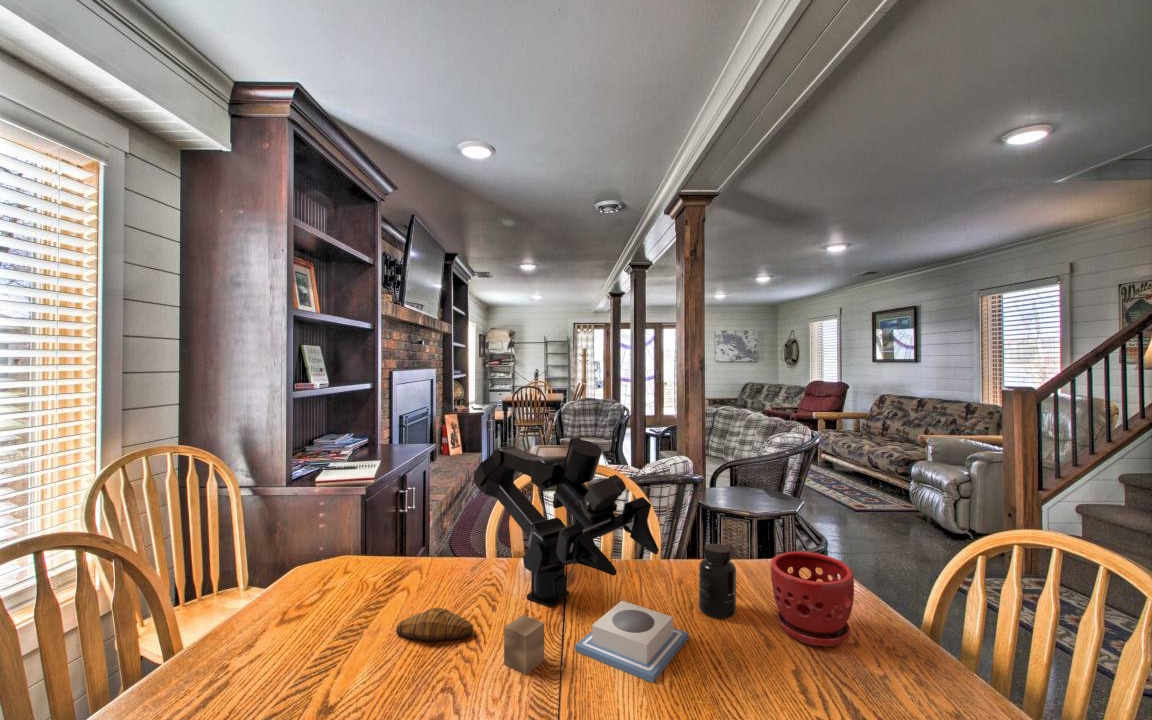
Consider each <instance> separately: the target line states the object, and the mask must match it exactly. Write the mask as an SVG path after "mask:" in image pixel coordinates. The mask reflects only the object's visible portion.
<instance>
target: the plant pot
mask: <svg viewBox="0 0 1152 720" xmlns="http://www.w3.org/2000/svg"><path fill="white" fill-rule="evenodd" d="M789 568H792V572H790V573H789ZM803 568H805V569H807V570H809V572H810V576H809V577H807V578H803V577H802V576H801V575H800V571H801V569H803ZM817 568H818V569H821V570H822V573H821V574H819V573H818V572H817V571H816V569H817ZM838 575H839V577H838ZM829 576H830V577H831V579H829ZM770 578H771V585H772V590H773V591H772V594H773V597H774V601H775V604H776V606H777V609H778V611H777V614H776V619H777V622H778V624H779V626H780V628H781V629H782V630H783V631H784V632H785V633H786V634H788V635H789V636H790V637H792V638H794V640H797V641H799V642H802V643H804V644H808V645H812V646H816V647H828V648H829V647H830V648H831V647H834V646H837V645H841V644H843V643H844V642H845V641H847V639H849V638H850V634H851V627H850V625H849V623H848V621H849V619H850V617H851V614H852V610H853V605H854V599H855V598H854V596H855V582H854V579H855V578H854V572H853V570H852V569H851V568H850V566H849V565H847V564H846V563H845V562H843V561H841V560H839V559H837V558H834V557H832V556H829V555H827V554H826V555H825V554H821V553H817V552H809V551H788V552H782V553H780V554H777V555H775V556H774V557H772V559H771V560H770ZM839 578H840V579H839ZM818 580H820V581H818Z"/></svg>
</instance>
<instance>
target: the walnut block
mask: <svg viewBox="0 0 1152 720" xmlns="http://www.w3.org/2000/svg"><path fill="white" fill-rule="evenodd" d="M544 661H545V622H543V621H540V620H537V619H534V618H532V617H529V616H527V615H524V614H522V615H520V616H519V617H517V618H515V620H512V621H511V622H510V623H508V624H506V625H505V626H503V665H504V666H506V667H508V668H510V669H512V670H514V671H515V672H517V673H520V674H522V675H525V676H527V675H528V674H530V672H532V671H533V670H534V669H536V668H537V667H538V666H539V665H540V664H542V663H543V662H544Z"/></svg>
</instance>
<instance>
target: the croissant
mask: <svg viewBox="0 0 1152 720" xmlns="http://www.w3.org/2000/svg"><path fill="white" fill-rule="evenodd" d="M395 631H396V635H399V636H401V637H403V638H407V639H411V640H418V641H419V640H420V641H424V642H441V641H455V640H459V639H465V638H468V637H471V636H472V634H473V631H474V626H473V624H472V623H471V622H470V621H469V620H468V619H466V618H465V617H462V616H460V615H459V614H456V613H453V612H451V610H449V609H447V608H442V607H434V608H429V609H427V610H426V611H424V612H421V613H417V614H414V615H412V616H411V615H410V616H409V617H406V618H405V619H403V620H402V621H400V622H398V623H397V626H396V629H395Z"/></svg>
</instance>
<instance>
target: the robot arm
mask: <svg viewBox="0 0 1152 720" xmlns="http://www.w3.org/2000/svg"><path fill="white" fill-rule="evenodd" d="M566 452H567V453H566V455H556V456H555V455H554V456H553V455H552V456H542V455H539V454H535V453H532V452H529V451H526V450H522V449H519V448H517V446H510V445H509V446H504V447H498V448H496V449H494V450H493V452H492V453H491V455H490V456H488V457H487V458H486V459H484V460H483V461H482V462H481V463H480V464H479V465H478V466H477V469H476V470H475V471H474V474H473V481H474V484H475V486H476V487H477V489H478V490H479V491H480V492H482V494H483V495H485V496H487V497H491V498H494V499H497V500H498V502H499V503H500V504H501V505H502V507H503V508H504V509H505V510H506V511H507V513H508V514H509V515H510V516H511V518H512V519H513V520H514V521H515V523H516V524H517V525H518V526H519V528H520V529H521V530H522V531H523V532H524V534H526V536H527V537H528V550H527V551H526V552H525V554H524V555H523V556H522V561H523V564H524V565H523V566H524V568H525V569H526V570H528V571H529V572H531V573H530V574H531V576H530V577H531V579H530V580H531V592H529V593H527V594H526V595H525V596H526V599H527V600H530V601H533V602H536V603H539V604H541V605H545V606H547V607H550V608H551V607H553V606H555V605H557V603H560V602H561V601H562V600H564V599H565V598H567V597H568V596H570V591H569V590H567V581H568V580H567V575H566V566H567V565H569V566H570V565H577V564H579V565H580V566H584V567H588V568H592V569H595V570H597V571H600V572H602V573H605V574H607V575H610V576H612V577H613V576H616V575H617V571H618V570H617V569H616V567H615V566H614V565H613V563H612V561H611V560H610V559H609V558H608V557H607V556H606V555H605V554H604V552H603V551H602V550H601V549H600V548H599V547H598V545H596V543H595V540H594V539H596V538H598V537H599V538H601V537H604V536H606V535H609V534H611V533H614V532H615V531H617V530H620V529H623V530H624V531H625V532H626V533H629V534H630V535H629V538H631V539H632V540H634V541H635V542H636V543H638V544H639V545H640V546H642V547H643V548H644V549H646V550H647V551H649V552H650V553H652V554H654V555H658V553H659V551H660V549H659V548H658V547H659V546H658V545H657V543H656V541H655V539H654V537H653V534H652V532H651V530H650V528H649V524H648V518H649V515H650V511H651V507H652V504H651V503H650V502H649V501H648V500H647V499H646V498H645V497H644V496H641V497H637V498H635V499H633V500H630V501H628V502H625V503H624V507H623V512H622V513H620V514H619V515H616V514H615V512H616V511H617V508H618V504H616V503H615V502H616V501H617V500H618V498H619V497H620V496H622V494H623V492H624V491H625V490H626V488H627V487H626V483H625V482H624V480H623V478H622V477H620V476H618V475H617V474H613V475H611V476H609V477H608V478H605V479H603V480H600V481H597V482H595V483H594V484H592V485H591V486H590V488H589V486H588V485H587V484H586V483H589V482H591V481H593V480H594V478H595V475H596V472H597V469H598V466H599V463H600V460H601V456H602V453H603V449H602V448H601V447H600V445H599V444H598V443H597V444H596V443H594V442H591V441H589V440H584V439H582V438H580V437H579V436H578V437H572V438H570V439H569V443H568V449H567V451H566ZM517 472H518V473H520V474H522V475H523V474H524V475H525V476H528V477H529V478H530V481H531V483H532V484H533V485H535V486H536V487H538V488H539V490H543V491H544V490H549V489H555V491H554V493H553V501H552V507H553V508H554V509H558V508H563V507H564V509H566V510H567V511H568V513H569V514H570V515H571V516H572V521H571V522H572V524H570V525H567V526H566V524H565V523H563V521H562V520H561V519H560V518H559V517H554V518H553V517H552V518H550V519H546V518H545V517H544V515H542V513H541V512H540V511H539V510H538V509H537V508H536V507H535V505H534V504H533V503H532V502H531V501H530V500H529V499H528V498H527V497H526V496H525V493H523V492H522V491H521V490H520V489H519V488H518V486H517V485H516V484H515V483H514V479H515V474H516V473H517Z"/></svg>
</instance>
